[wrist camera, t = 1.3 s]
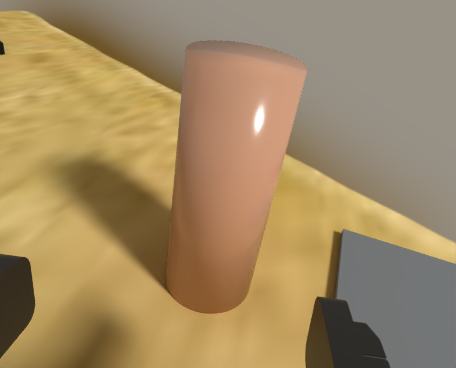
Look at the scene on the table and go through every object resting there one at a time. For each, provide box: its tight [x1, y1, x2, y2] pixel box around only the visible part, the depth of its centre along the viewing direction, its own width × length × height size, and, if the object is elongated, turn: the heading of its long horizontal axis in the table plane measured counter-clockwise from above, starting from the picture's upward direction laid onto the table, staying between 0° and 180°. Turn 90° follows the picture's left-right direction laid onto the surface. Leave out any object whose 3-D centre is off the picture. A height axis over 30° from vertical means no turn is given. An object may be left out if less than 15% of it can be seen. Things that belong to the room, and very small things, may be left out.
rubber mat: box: [334, 229, 456, 368], centre depth 24 cm, size 12×12×1 cm
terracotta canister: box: [166, 41, 307, 314], centre depth 20 cm, size 5×5×14 cm
